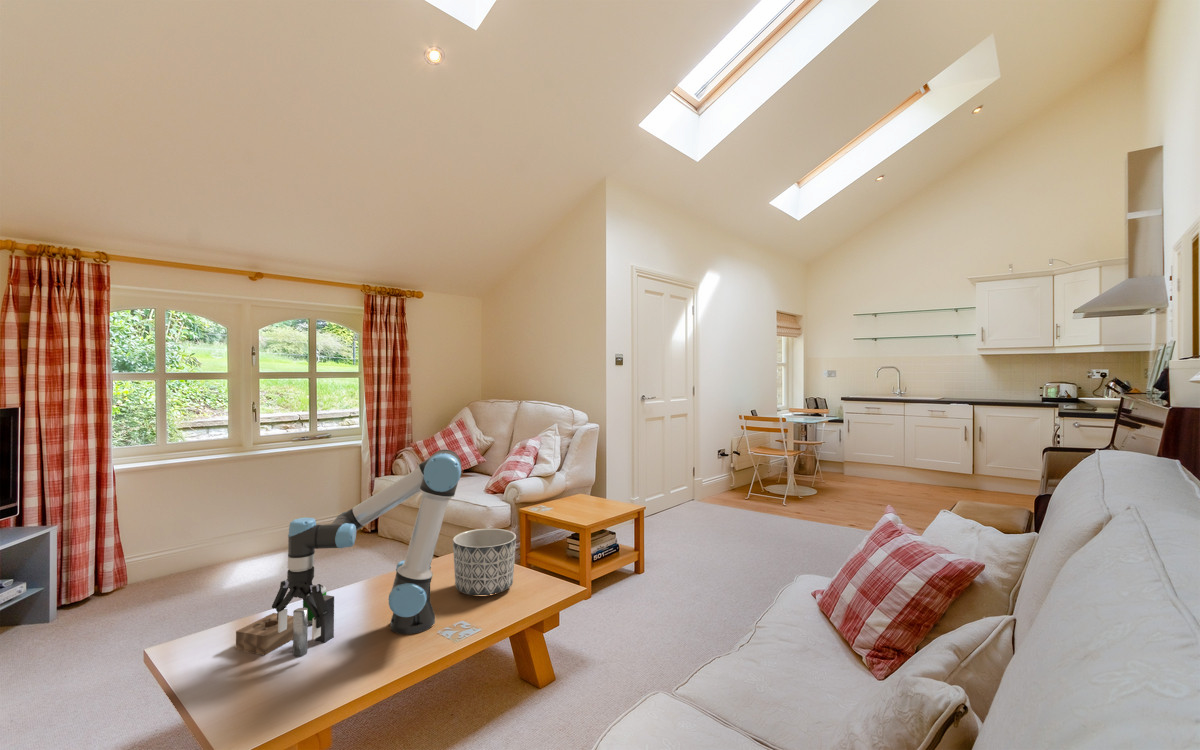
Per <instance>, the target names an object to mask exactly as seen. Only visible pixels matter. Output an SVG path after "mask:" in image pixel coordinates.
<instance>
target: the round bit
mask: <svg viewBox="0 0 1200 750" xmlns="http://www.w3.org/2000/svg"><path fill="white" fill-rule="evenodd" d="M292 612H293V613H292V614H293V615H292V616H293V640H292V656H293V657H294V658H301V657H304V656H306V655H307V654H308V626H309V624H308V608H303V607H299V608H296V609H294V610H293V611H292Z"/></svg>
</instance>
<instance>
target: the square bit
mask: <svg viewBox="0 0 1200 750" xmlns="http://www.w3.org/2000/svg"><path fill="white" fill-rule="evenodd" d="M323 598H324V600H325V603H326V606H327V609H328V612H329V613H328V614H327V615H325V616H323V623H322V627H321V636H319V637H317V638H316V639H314V642H318V643H323V644H325V643H327V642H328V641H330V640H331V639H333V638H334V637H335V636H334V635H335V630H334V629H335V596H333V595H327V594H326V595H323Z"/></svg>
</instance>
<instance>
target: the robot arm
mask: <svg viewBox="0 0 1200 750" xmlns="http://www.w3.org/2000/svg"><path fill="white" fill-rule="evenodd" d="M461 476H462V460H461V457H460V456H459V454H458V453H457V452H455V451H453V450H450V449H440V450H438V451H435V452H434V453H433V454H432V455H431V456H429V457H427V459H425V460H423V461H422V462H421V463H418V465H417V467H416V469H414V470H412V471H411V472H409V473H407V474H406V475H405V476H403V477H401V478H400V479H398V480H397V481H395V482H393V483H391V484H390V485H388V486H386V487H384V488H383V489H381V490H380V491H378V492H376V493H375V494H373V495H372V496H370V497H369V498H367V499H364V500H363V501H362V502H360V503H359V504H357V505H355V506H353V508H350V509H349V510H347V511H344V512H342V513H340V514H339V515H337V516H336V518H335V519H334V520H333V521H332V523H329V524H317V522H316V518H314V517H300V518H295V519H293V520H292V521H290V522H289V525H288V527H289V528H288V534H287V537H288V539H287V540H288V541H287V542H288V544H287V545H288V546H287V548H288V549H287V550H288V551H287V569H288V570H287V572H286V573H287V574H286V575H287V578H286V579H285V580H282V581H280V585H279V589H278V592H277V594H276V596H275V598H274V600H273V602H272V604H271V608H272V609H275V610H276V612H277V620H278V632H279V633H280V632H282V631H284V630H286V629H287V615H288V608H287V606H288V605H289V604H290V603H291V601H293V599H294V598H298V599H302V601H303V600H304V601H306V603H307V604H308V606H309V608H310V610H311V611H312V613H313V615H314V616H315V617H314V618H313V623H312V624H311V625H312V626H311V628H312V629H311V639H312V640H315V639H316V638H317V637H319V636H321V627H322V623H323V616H325V615H327V614H328V613H329V612H328V609H327V606H326V603H325V600H324V598H323V595H322V592H321V585H322V584H320V583H318V584H313V580H314V577H315V566H314V565H315V554H316V550H317V549H320V550H322V549H344V548H350V547H351V548H352V547H353V546H354V545H355V543H356V539H357V531H359V530H361V529H362V528H363V527H365V526H366V525H368V524H369V523H371V522H372V521H374V520H376V519H378V518H379V517H381V516H383V515H384V514H386V513H387V512H389V511H390V510H392V509H395V508H396V507H397V506H399V505H400V504H403V503H404V502H405V501H407V500H408V499H411V498H412V497H413V496H416V495H417V494H419V493H420V492H421V494H422V496H421V497H422V498H421V499H420V504H419V508H418V511H417V514H416V519H415V523H414V525H413V529H412V533H411V537H410V540H409V543H408V547H407V551H406V555H405V558H404V559H403V560H400V561H398V562H397V564H396V569H395V571H396V573H395V577H394V581H393V584H392V587H391V591H390V593H389V594H388V606H389V609H390V610H391V611H392V615H391V620H390V630H391V631H392V632H393V633H396V634H399V635H411V634H412V635H414V634H419V633H422V632H425V631H427V630H429V629H431V628H432V627H433V626H434V625H435V623H436V614H435V612H434V609H433V606H432V602H431V583H432V579H433V575H434V574H433V572H432V570H431V569H432V566H431V565H432V562H433V557H434V555H435V551H436V546H437V544H438V540H439V537H440V532H441V528H442V524H443V521H444V516H445V514H446V510H447V508H448V507H447V506H448V503H449V501H450V500H451V499H452V498H454V497H455V494H456V491H457V487H458V483H459V481H460V479H461ZM288 590H289V591H288ZM308 594H309V596H308ZM433 624H434V625H433ZM432 625H433V626H432ZM431 626H432V627H431ZM430 627H431V628H430Z"/></svg>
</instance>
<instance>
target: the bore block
mask: <svg viewBox="0 0 1200 750" xmlns="http://www.w3.org/2000/svg"><path fill="white" fill-rule="evenodd" d="M291 641H293V615H289V614H287V629H286V630H284V631H282V632H280V633H279V632H278V620H277V613H276V612H272V613H270V614H269V615H266V616H264V617H261V618H260V619H258V620H256V621H254V622H252V623H250V624H248V625H245V626H243V627H242V628H240V629H238V630H235V650H237V651H241V652H246V653H250V654H251V653H252V654H257V655H263V656H266V655H268V654H269V653H271V652H273V651H275V650H276V649H278V648H280V647H282V646H284V645H286V644H287V643H289V642H291Z"/></svg>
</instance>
